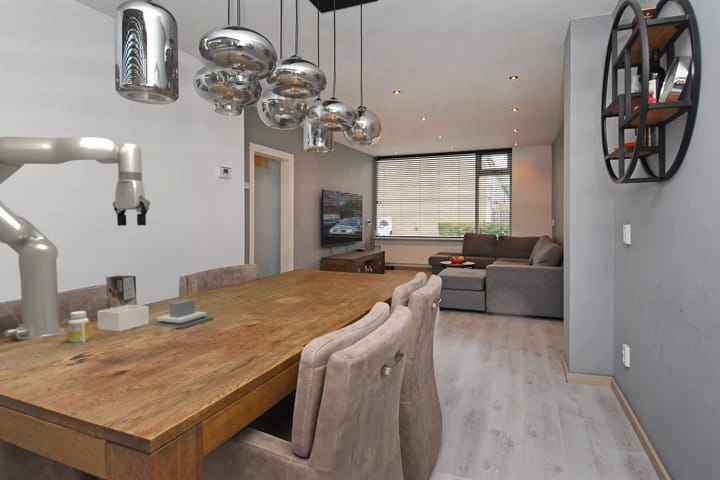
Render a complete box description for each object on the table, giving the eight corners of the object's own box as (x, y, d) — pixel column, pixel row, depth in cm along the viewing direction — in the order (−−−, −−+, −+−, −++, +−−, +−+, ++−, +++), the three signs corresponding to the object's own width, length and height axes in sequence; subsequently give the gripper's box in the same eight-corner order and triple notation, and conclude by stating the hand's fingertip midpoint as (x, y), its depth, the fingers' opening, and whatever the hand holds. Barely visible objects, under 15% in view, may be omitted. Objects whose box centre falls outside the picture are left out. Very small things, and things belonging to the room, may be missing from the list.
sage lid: (180, 325, 144) (180, 305, 143) (157, 323, 147) (156, 303, 147) (207, 317, 156) (206, 299, 155) (184, 315, 160) (184, 297, 159)
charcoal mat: (181, 329, 142) (181, 326, 142) (150, 326, 147) (150, 323, 147) (213, 319, 157) (213, 316, 157) (184, 316, 162) (184, 314, 162)
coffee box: (138, 315, 166) (136, 275, 165) (124, 318, 159) (123, 277, 159) (120, 314, 168) (119, 275, 168) (106, 317, 162) (105, 277, 162)
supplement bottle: (73, 346, 123) (72, 314, 122) (65, 344, 126) (64, 313, 125) (93, 342, 127) (92, 311, 127) (84, 339, 130) (83, 309, 130)
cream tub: (119, 333, 137) (118, 313, 137) (97, 331, 141) (97, 311, 140) (149, 325, 148) (148, 306, 148) (128, 323, 152) (128, 304, 152)
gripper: (103, 178, 148) (105, 225, 149) (139, 176, 142) (140, 225, 143) (122, 180, 155) (123, 225, 156) (156, 178, 149) (158, 225, 150)
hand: (131, 225), depth 149 cm, fingers open, 9 cm apart
